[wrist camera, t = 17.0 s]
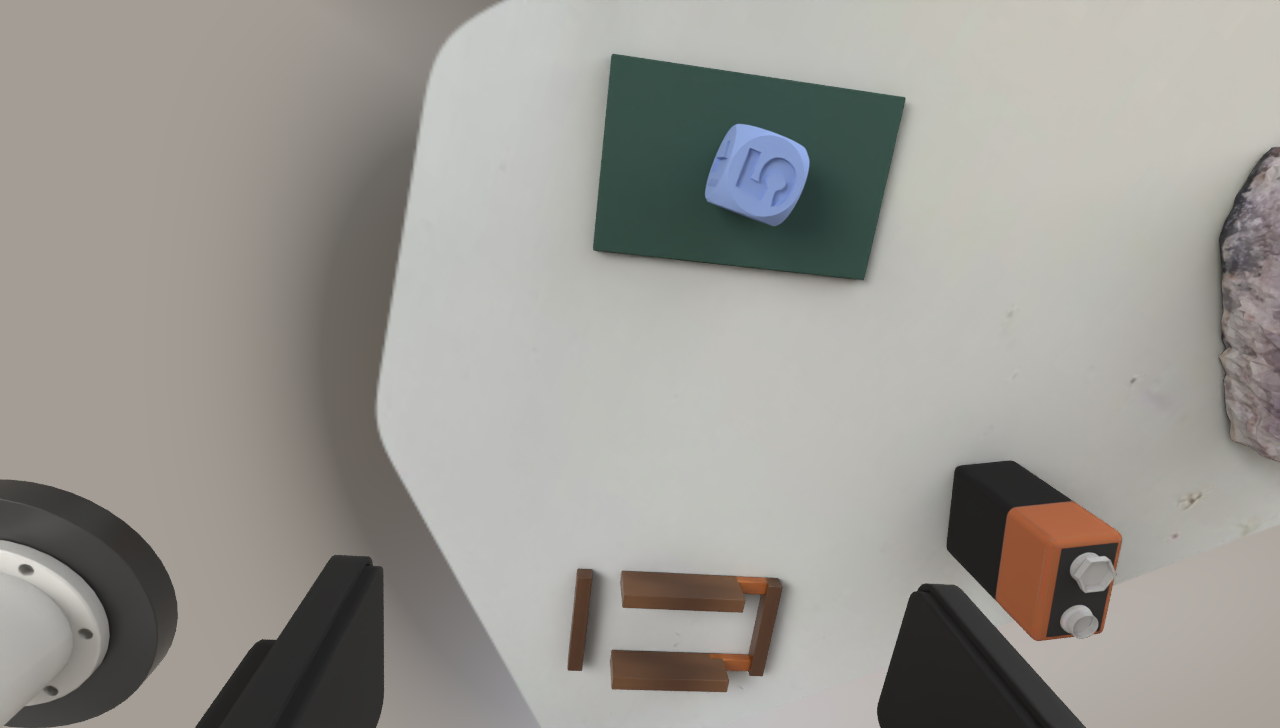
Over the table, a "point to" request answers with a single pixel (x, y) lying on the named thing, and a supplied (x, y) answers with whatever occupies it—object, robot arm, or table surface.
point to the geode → (1253, 310)
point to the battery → (1033, 549)
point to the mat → (687, 145)
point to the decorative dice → (757, 174)
